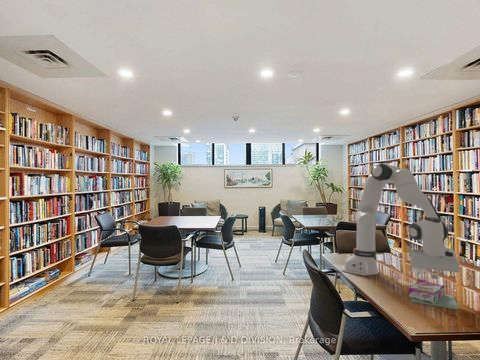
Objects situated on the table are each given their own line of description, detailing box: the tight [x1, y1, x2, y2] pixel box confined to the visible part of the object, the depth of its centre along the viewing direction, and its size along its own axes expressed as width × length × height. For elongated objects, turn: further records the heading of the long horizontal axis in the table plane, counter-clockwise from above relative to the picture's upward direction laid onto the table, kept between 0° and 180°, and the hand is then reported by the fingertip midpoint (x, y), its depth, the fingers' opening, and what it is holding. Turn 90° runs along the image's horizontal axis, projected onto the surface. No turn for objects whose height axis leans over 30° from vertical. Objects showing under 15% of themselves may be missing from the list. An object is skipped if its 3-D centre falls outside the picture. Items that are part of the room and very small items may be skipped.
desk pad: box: [410, 293, 460, 311], centre depth 135 cm, size 18×17×1 cm
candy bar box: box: [408, 279, 445, 304], centre depth 137 cm, size 11×5×16 cm
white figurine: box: [411, 267, 429, 281], centre depth 164 cm, size 9×4×12 cm, turn 56°
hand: (434, 278), depth 137 cm, fingers closed
